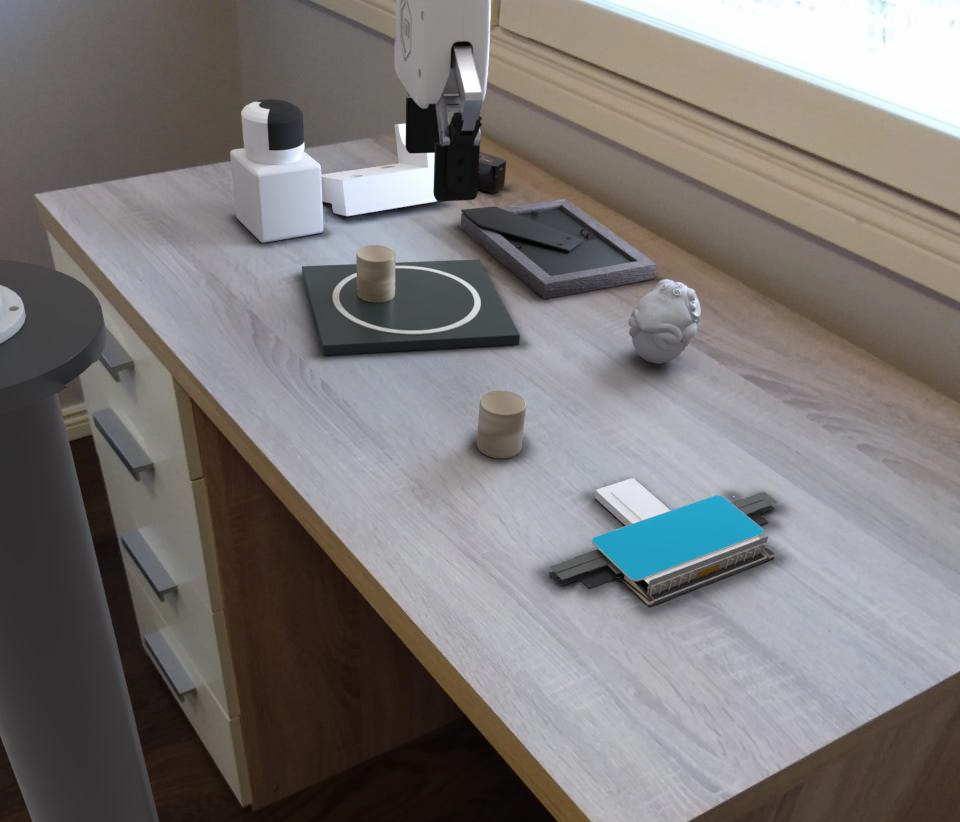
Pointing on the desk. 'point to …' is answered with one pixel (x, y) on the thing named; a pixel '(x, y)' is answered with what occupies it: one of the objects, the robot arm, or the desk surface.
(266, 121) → the security camera
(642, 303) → the frog figurine
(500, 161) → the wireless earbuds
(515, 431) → the beige cylinder
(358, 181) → the bracket
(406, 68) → the robot arm
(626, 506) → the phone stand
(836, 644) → the desk surface
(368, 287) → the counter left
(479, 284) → the slate board
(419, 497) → the desk surface
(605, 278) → the picture frame
